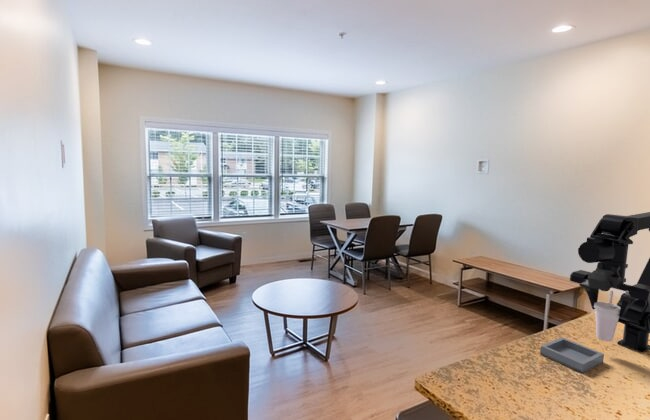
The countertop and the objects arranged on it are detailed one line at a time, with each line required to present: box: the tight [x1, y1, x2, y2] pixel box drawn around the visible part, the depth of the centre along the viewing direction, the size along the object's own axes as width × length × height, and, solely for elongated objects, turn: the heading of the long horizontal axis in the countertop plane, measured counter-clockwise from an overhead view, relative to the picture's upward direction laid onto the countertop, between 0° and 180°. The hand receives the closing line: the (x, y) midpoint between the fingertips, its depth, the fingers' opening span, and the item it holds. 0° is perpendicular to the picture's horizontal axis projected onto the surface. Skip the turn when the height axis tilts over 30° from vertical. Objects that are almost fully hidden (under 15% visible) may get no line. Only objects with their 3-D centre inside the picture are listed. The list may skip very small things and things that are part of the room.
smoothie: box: [594, 290, 621, 342], centre depth 104 cm, size 6×6×14 cm
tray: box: [539, 337, 605, 374], centre depth 102 cm, size 11×11×2 cm
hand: (607, 313), depth 104 cm, fingers closed on smoothie, 6 cm apart
